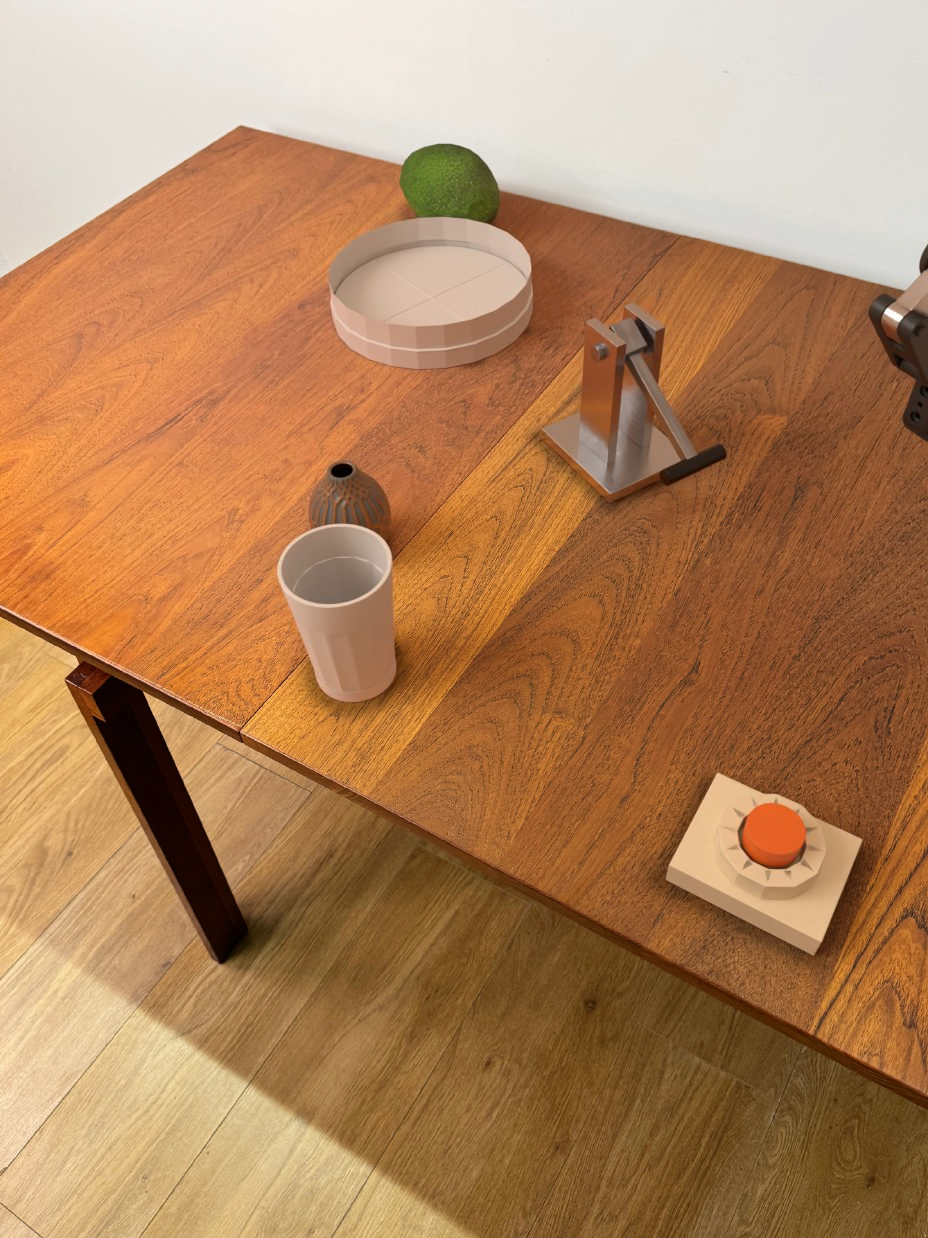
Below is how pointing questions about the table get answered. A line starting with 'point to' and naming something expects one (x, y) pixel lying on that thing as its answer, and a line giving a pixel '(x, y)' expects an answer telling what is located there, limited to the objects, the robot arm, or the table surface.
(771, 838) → the power button
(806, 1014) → the table surface
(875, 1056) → the table surface
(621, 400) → the lever bracket
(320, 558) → the cup
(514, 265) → the dish
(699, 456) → the metal lever
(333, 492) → the vase
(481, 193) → the fruit
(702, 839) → the block
